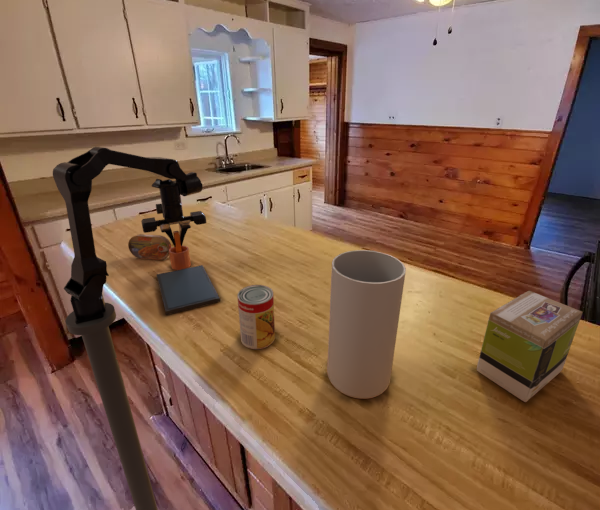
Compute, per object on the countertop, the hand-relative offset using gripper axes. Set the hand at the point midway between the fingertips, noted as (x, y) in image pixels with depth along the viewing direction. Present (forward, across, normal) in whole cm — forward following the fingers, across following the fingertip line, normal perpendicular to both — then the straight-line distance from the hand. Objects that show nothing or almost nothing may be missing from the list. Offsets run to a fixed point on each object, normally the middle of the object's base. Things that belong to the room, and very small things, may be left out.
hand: (178, 246), depth 109 cm
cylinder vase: (+7, -24, +66) cm, 71 cm away
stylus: (+6, 0, 0) cm, 6 cm away
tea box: (+7, -54, +80) cm, 97 cm away
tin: (+7, +8, -11) cm, 15 cm away
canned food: (+7, -10, +46) cm, 48 cm away
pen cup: (+7, 0, 0) cm, 7 cm away
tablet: (+7, +1, +16) cm, 18 cm away
